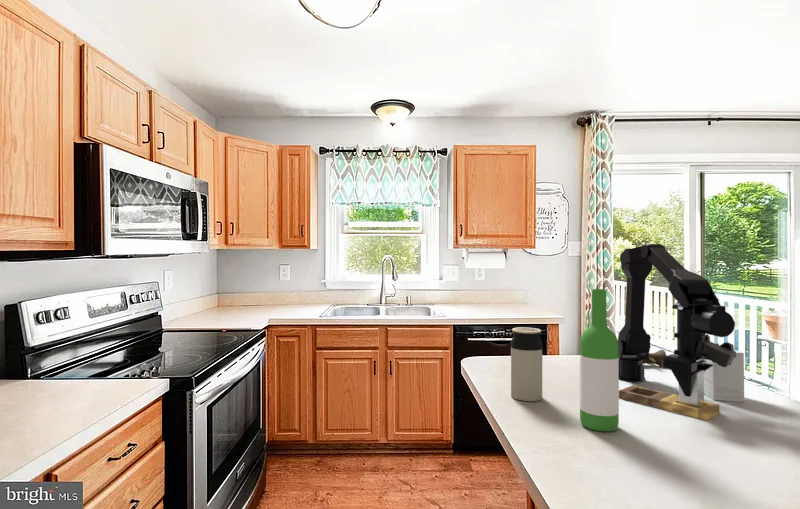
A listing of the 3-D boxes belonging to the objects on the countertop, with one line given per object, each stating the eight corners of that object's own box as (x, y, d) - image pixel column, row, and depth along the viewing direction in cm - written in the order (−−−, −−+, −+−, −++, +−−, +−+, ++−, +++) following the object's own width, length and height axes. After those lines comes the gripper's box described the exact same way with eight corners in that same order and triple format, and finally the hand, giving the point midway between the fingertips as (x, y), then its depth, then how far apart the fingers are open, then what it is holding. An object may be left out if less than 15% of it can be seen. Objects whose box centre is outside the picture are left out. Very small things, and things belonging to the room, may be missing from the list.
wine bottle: (572, 425, 97) (572, 289, 97) (591, 417, 102) (591, 287, 102) (607, 436, 91) (607, 291, 91) (625, 427, 96) (625, 289, 96)
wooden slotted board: (618, 398, 116) (618, 390, 116) (633, 392, 121) (633, 385, 121) (706, 420, 100) (706, 411, 100) (719, 412, 105) (719, 404, 105)
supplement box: (745, 402, 113) (745, 353, 113) (712, 400, 114) (712, 351, 114) (729, 393, 120) (729, 347, 120) (699, 391, 121) (699, 346, 122)
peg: (678, 406, 106) (678, 369, 106) (685, 403, 109) (685, 366, 109) (697, 411, 103) (697, 372, 103) (704, 407, 106) (703, 370, 106)
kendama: (652, 359, 163) (672, 371, 143) (624, 359, 165) (639, 370, 146) (651, 343, 163) (671, 353, 144) (623, 342, 165) (639, 352, 146)
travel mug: (546, 402, 112) (546, 331, 112) (515, 402, 112) (515, 331, 113) (537, 392, 120) (537, 327, 120) (507, 392, 120) (507, 326, 120)
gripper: (716, 339, 94) (716, 412, 94) (744, 330, 105) (744, 395, 105) (660, 331, 103) (660, 398, 103) (691, 324, 114) (691, 384, 114)
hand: (691, 394), depth 106 cm, fingers closed on peg, 4 cm apart
